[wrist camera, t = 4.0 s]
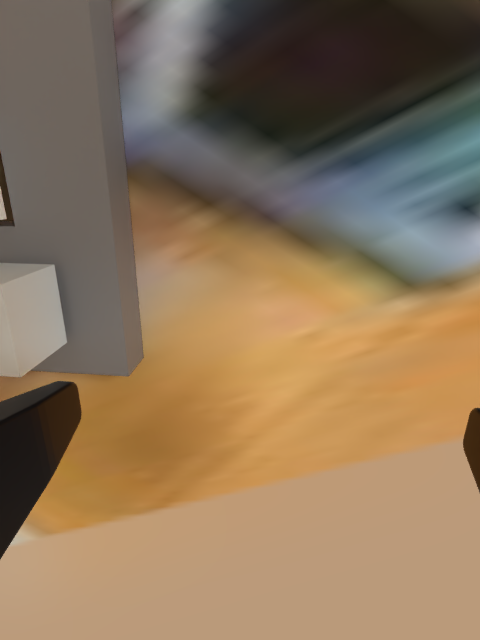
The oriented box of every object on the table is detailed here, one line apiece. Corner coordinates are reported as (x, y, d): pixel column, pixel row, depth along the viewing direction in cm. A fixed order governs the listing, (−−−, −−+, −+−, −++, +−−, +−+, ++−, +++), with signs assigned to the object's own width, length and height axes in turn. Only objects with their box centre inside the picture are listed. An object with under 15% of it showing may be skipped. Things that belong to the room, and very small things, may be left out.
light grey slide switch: (54, 264, 16) (0, 284, 13) (67, 342, 17) (21, 377, 14) (-14, 262, 16) (-82, 281, 13) (4, 339, 17) (-55, 372, 14)
